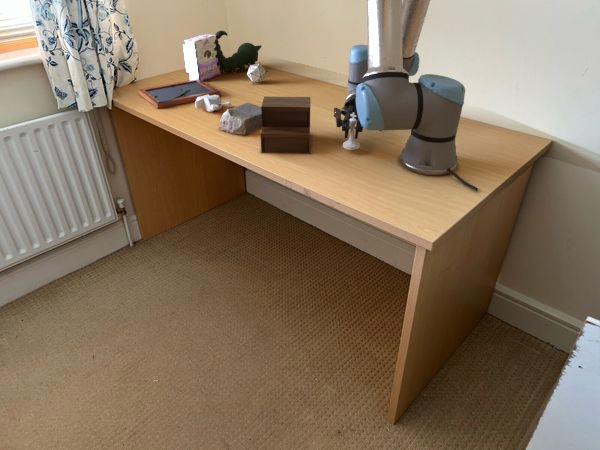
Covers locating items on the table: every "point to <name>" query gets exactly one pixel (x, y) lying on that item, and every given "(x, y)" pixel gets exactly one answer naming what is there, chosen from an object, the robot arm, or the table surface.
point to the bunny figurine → (210, 103)
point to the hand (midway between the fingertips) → (351, 133)
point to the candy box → (202, 57)
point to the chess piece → (351, 135)
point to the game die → (256, 73)
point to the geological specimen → (242, 119)
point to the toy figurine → (236, 55)
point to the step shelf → (285, 125)
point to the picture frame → (177, 93)
